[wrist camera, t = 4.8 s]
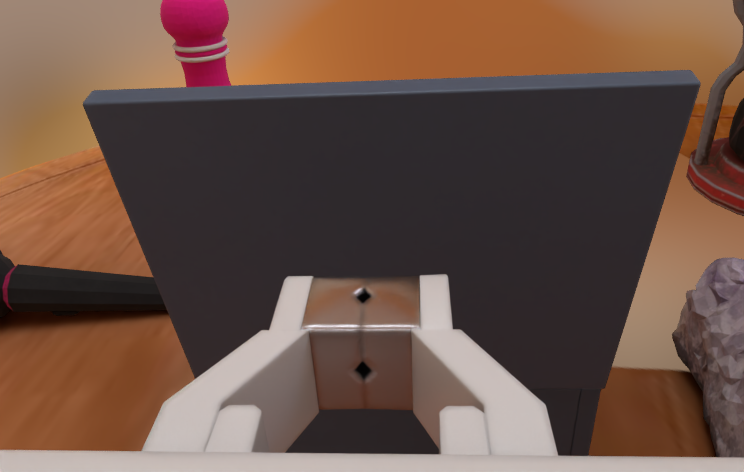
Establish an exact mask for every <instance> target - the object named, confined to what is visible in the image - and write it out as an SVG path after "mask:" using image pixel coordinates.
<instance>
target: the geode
mask: <svg viewBox="0 0 744 472" xmlns="http://www.w3.org/2000/svg"><path fill="white" fill-rule="evenodd" d="M686 298H687V302H686V303H685V305H684V307H683V309H682V311H681V316H680V321H679V323H678V326H677V329H676V330H675V331H674V332H673V334H672V336H673V337H672V338H673V341H674V343H675V347H676V350H677V354H678V356H679V357H680V359H681V360H682V362H683V363H684V364H685V365H686V366H687V367H688V368H689V370H690V372H691V373H692V375H693V377H694V378H695V380H696V382H697V383H698V385H699V386H700V388H701V389H702V391H703V414H704V420H705V421H706V422H707V424H708V425H709V427H710V434H711V439H712V442H713V445H714V448H715V451H716V457H741V458H744V260H742V259H737V258H721V259H717V260H715V261H714V262H713V263H711V264H710V266H708V268H707V269H706V270H705V272H704V273H703V275H702V276H701V278H700V279H699V281H698V283H697V284H696V290H690V291H687V293H686Z"/></svg>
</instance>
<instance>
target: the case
mask: <svg viewBox="0 0 744 472" xmlns="http://www.w3.org/2000/svg"><path fill="white" fill-rule="evenodd" d="M528 390H529V391H531V392H532V393H533V394H534V395H535V396H536V397H537V398H538V399H540V400H541V401H542V402H543V403H544V404H545V405H546V408H547V412H548V416H549V421H550V425H551V429H552V433H553V437H554V441H555V445H556V449H557V453H558V456H588V453H589V448H590V443H591V438H592V432H593V427H594V422H595V417H596V412H597V406H598V401H599V396H600V391H601V389H528ZM285 453H345V454H439V448H438V447H437V445H436V444H435V443H434V441H433V440H432V438H431V437H430V436H429V434H428V433H427V431H426V430H425V428H424V427H423V426H422V424H421V423H420V421H419V420H418V418H417V417H416V416H415V414H414V413H413V410H389V409H330V410H319V413H318V414H317V415H316V417H315V418H314V419H313V420H312V421H311V423H310V424H309V425H308V426H307V427H306V428H305V430H304V431H303V432H302V433H301V434H300V435H299V437H298V438H297V439H296V440H295V441H294V443H293V444H292V445H291V446H290V447H289V448H288V450H287V451H286V452H285Z"/></svg>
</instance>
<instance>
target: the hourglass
mask: <svg viewBox="0 0 744 472" xmlns="http://www.w3.org/2000/svg"><path fill="white" fill-rule="evenodd" d="M733 5H734V12H735V14H736V15H737V17H738V19H739V20H740V22H741V23H742V25H743V45H742V47H741V49H740V51H739V54H738V56H737V58H736V60H735V62H734V63H733V64H732V65H731V66H729V67H728V68H727V69H726V70H725V71H723V72H722V73H721V74H720V75H719V76H718V78H717V79H716V81H715V83H714V84H713V86H712V87H711V90H710V95H709V99H708V103H707V108H706V112H705V116H704V120H703V125H702V129H701V133H700V138H699V142H698V146H697V149H696V150H694V151H693V152H692V153H691V157H690V161H689V166H688V172H687V178H688V180H689V181H690V183H691V185H692V186H693V188H694V189H695V190H696V191H697V192H699V193H700V194H701V195H703V196H704V197H705V198H707V199H708V200H709V201H711V202H712V203H715V204H716V205H719V206H721V207H723V208H725V209H728V210H730V211H732V212H734V213H736V214H739V215H742V216H744V98H743V100H742V101H741V102H740V103H739V106H738V108H737V110H736V113H735V115H734V117H733V121H732V125H731V129H730V133H729V137H728V138H720V139H717V140H714V141H713V139H714V135H715V131H716V127H717V123H718V119H719V115H720V111H721V107H722V102H723V99H724V94H725V91H726V89H727V88H728V86H729V85H730V84H731V82H732V81H733V79H734V78H735V77H736V76H737V75H738V74H739V73H741V72H742V71H743V70H744V0H733Z"/></svg>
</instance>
